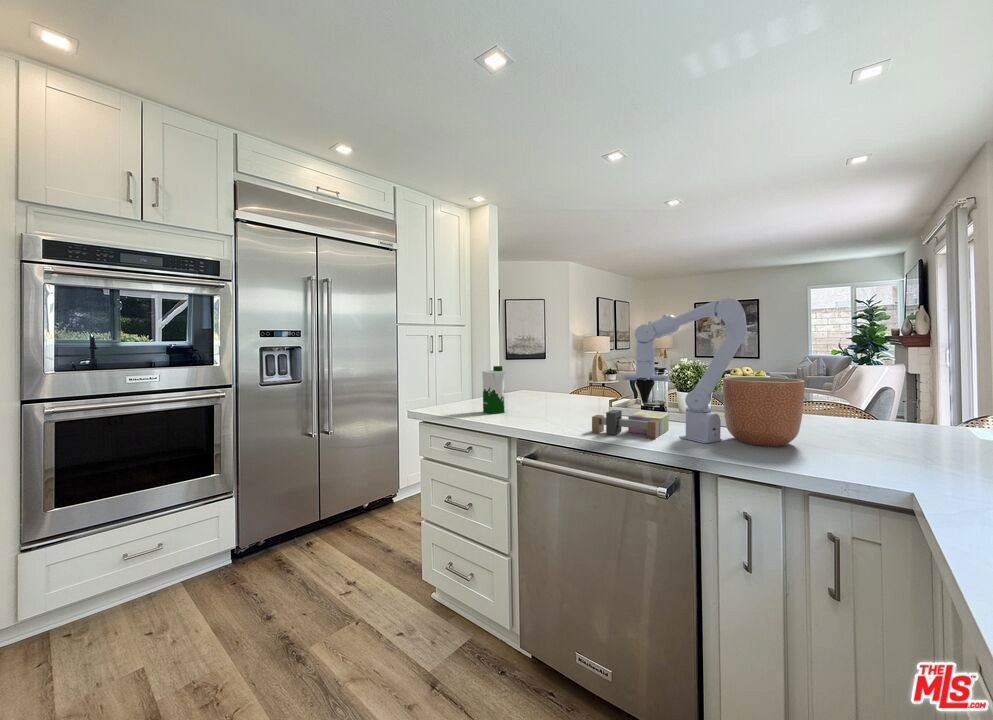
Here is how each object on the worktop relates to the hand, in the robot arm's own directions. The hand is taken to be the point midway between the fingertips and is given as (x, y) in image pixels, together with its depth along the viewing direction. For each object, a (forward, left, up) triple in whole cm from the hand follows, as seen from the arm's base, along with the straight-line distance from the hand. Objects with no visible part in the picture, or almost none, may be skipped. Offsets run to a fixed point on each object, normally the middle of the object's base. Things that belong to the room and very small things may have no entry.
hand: (645, 402), depth 143 cm
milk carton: (+64, +23, -10) cm, 69 cm away
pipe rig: (+2, +7, -10) cm, 13 cm away
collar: (+5, +9, -10) cm, 14 cm away
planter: (-26, -21, -10) cm, 35 cm away
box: (+5, -9, -8) cm, 13 cm away
